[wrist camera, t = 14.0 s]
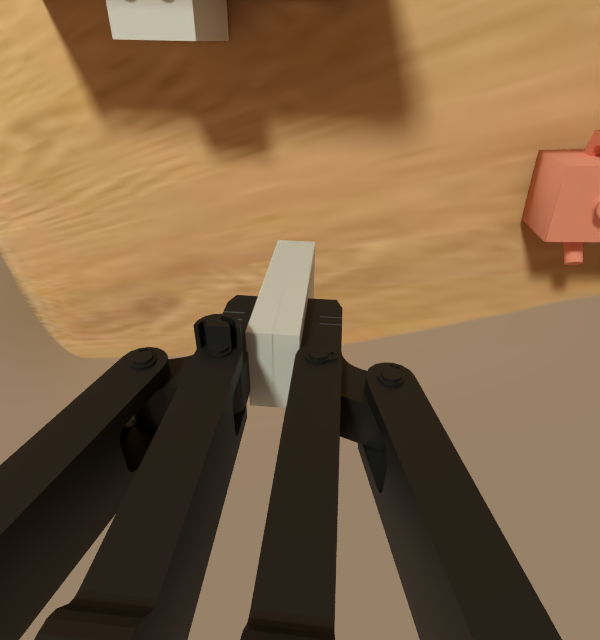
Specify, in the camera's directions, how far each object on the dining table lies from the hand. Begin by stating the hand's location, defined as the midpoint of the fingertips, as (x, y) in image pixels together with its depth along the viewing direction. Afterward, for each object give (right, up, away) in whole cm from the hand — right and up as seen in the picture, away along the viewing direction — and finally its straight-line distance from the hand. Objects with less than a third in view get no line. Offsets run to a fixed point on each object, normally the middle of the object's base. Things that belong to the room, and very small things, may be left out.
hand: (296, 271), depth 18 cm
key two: (-9, +26, +19) cm, 33 cm away
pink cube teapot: (+27, +11, +25) cm, 38 cm away
